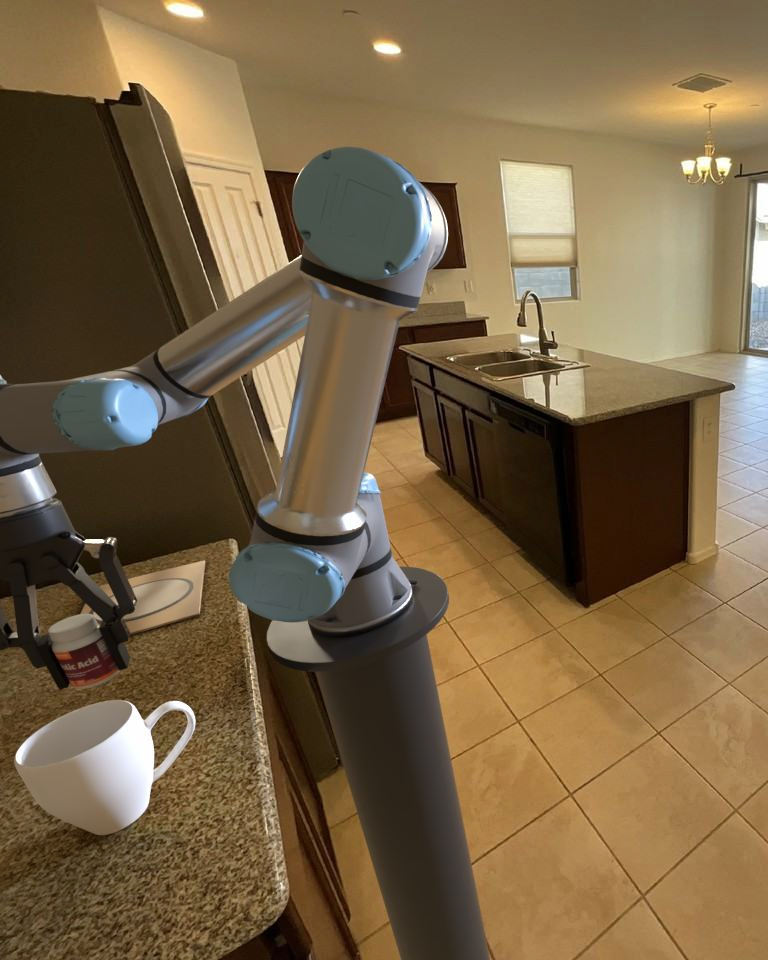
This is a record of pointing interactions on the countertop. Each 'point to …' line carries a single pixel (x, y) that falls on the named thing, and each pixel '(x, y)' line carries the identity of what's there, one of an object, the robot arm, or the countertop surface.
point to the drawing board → (162, 597)
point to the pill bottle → (82, 651)
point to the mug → (97, 764)
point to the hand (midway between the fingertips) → (96, 672)
